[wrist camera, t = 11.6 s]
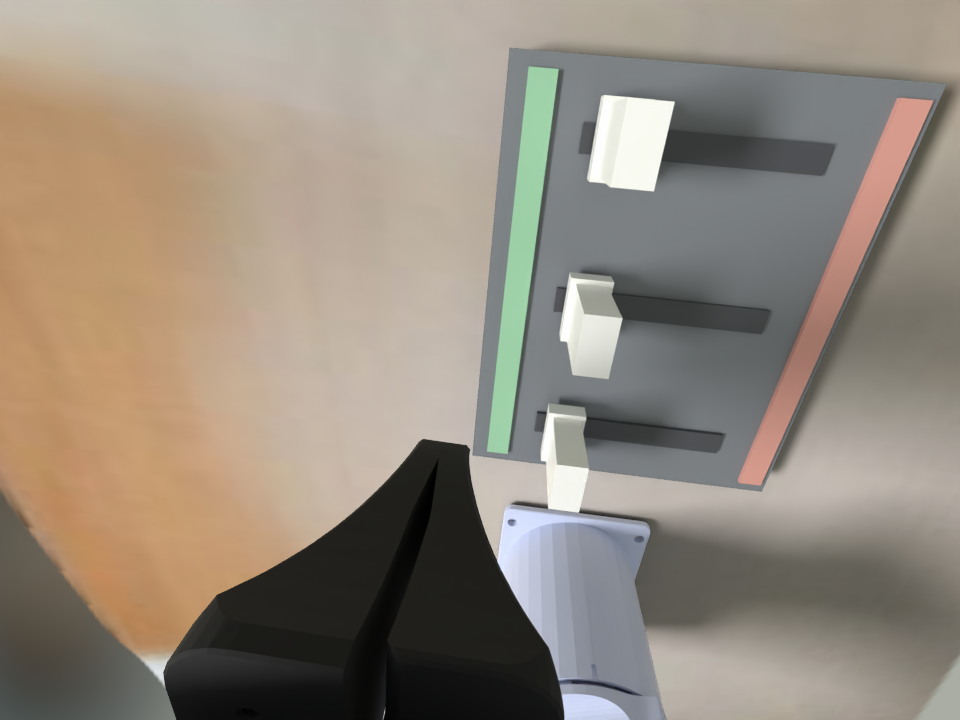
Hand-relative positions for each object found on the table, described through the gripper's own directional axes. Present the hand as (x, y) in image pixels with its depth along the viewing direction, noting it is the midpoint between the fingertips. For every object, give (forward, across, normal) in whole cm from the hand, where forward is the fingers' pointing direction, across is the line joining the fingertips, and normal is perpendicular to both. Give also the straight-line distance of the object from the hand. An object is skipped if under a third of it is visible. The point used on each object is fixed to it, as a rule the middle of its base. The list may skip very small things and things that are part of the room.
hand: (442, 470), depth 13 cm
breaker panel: (+10, -7, -3) cm, 13 cm away
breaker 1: (+8, -4, +3) cm, 10 cm away
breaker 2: (+8, -4, -9) cm, 12 cm away
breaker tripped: (+8, -4, -3) cm, 9 cm away
